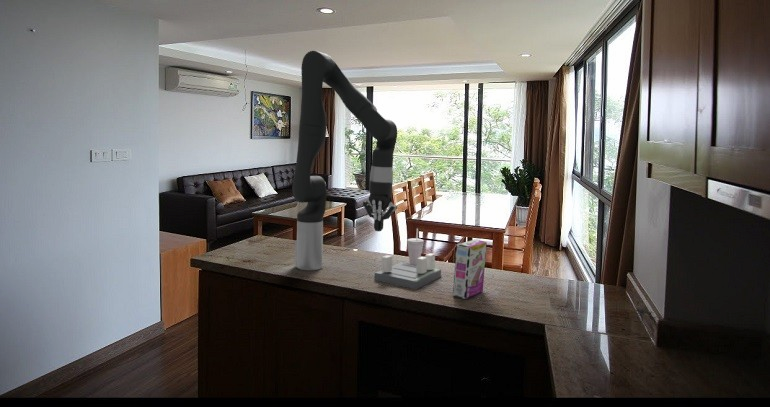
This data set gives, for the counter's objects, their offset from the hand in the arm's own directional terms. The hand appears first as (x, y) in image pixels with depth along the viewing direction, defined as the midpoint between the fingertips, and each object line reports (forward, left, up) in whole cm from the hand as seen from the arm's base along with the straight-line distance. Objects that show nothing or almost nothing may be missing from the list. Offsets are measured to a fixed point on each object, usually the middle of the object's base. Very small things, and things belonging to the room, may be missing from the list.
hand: (378, 230), depth 159 cm
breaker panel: (+9, +6, -16) cm, 19 cm away
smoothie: (+2, +23, -16) cm, 28 cm away
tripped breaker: (+4, 0, -13) cm, 14 cm away
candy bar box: (+32, +3, -16) cm, 36 cm away
